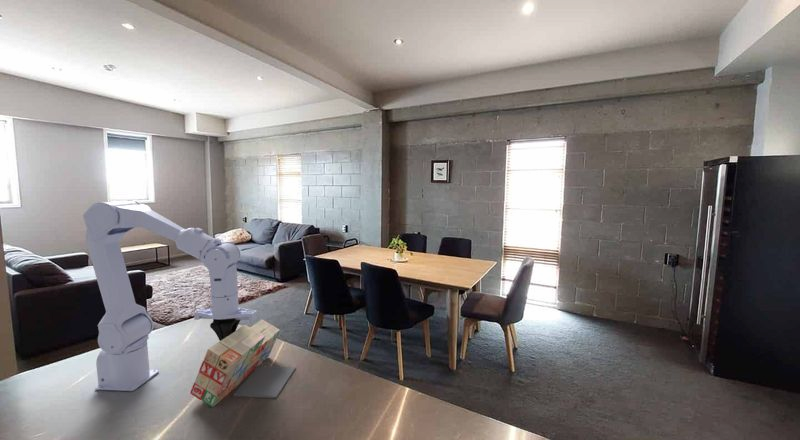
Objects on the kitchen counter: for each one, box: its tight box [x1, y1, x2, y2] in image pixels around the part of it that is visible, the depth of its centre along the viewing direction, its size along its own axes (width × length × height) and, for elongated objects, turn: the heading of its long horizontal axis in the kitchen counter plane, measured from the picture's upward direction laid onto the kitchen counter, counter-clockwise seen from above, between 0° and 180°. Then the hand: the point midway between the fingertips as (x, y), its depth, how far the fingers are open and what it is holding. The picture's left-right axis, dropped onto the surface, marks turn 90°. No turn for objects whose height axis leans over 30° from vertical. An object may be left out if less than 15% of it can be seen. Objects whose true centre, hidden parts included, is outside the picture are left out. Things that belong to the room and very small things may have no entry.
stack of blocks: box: [189, 319, 281, 408], centre depth 80 cm, size 21×6×12 cm, turn 170°
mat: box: [233, 365, 297, 399], centre depth 80 cm, size 10×12×1 cm
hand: (227, 347), depth 79 cm, fingers closed
